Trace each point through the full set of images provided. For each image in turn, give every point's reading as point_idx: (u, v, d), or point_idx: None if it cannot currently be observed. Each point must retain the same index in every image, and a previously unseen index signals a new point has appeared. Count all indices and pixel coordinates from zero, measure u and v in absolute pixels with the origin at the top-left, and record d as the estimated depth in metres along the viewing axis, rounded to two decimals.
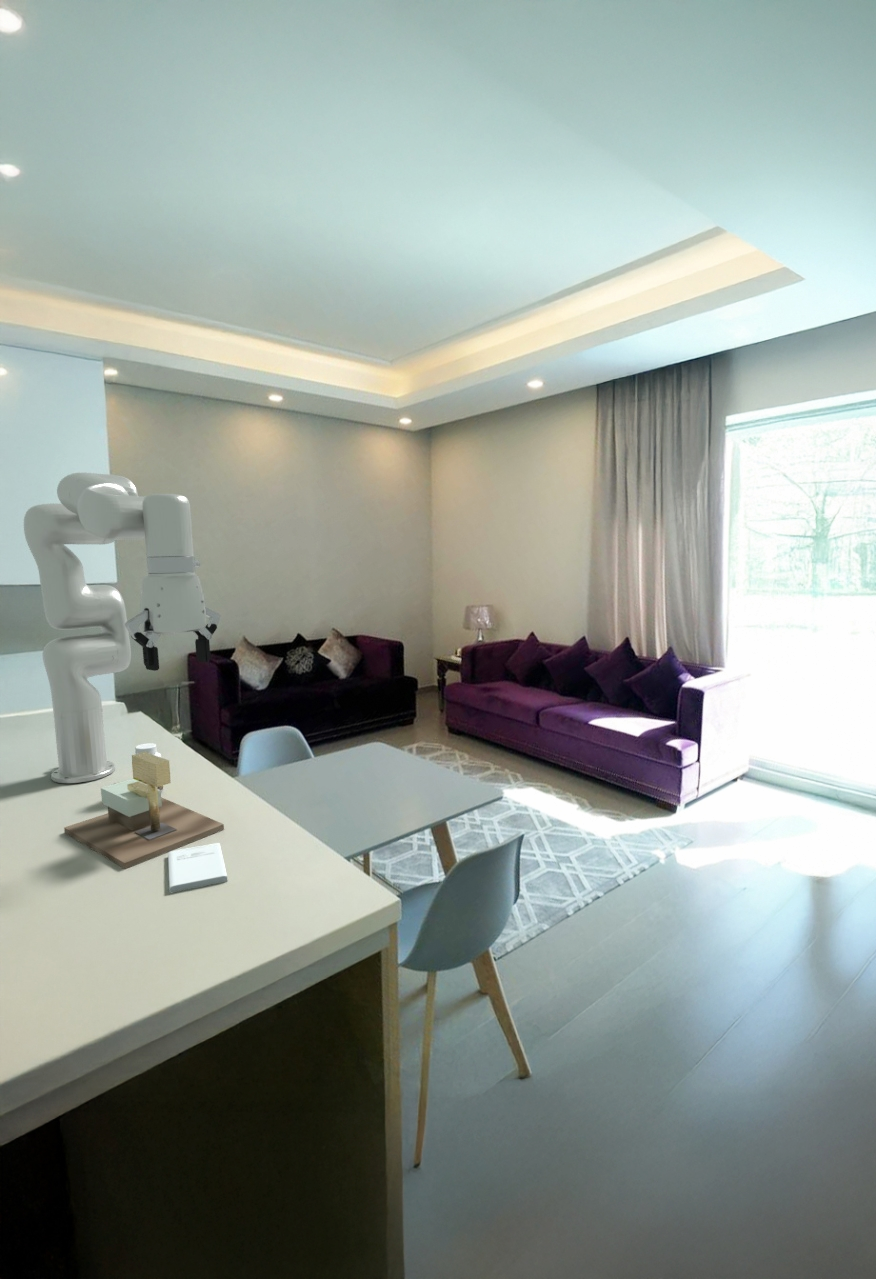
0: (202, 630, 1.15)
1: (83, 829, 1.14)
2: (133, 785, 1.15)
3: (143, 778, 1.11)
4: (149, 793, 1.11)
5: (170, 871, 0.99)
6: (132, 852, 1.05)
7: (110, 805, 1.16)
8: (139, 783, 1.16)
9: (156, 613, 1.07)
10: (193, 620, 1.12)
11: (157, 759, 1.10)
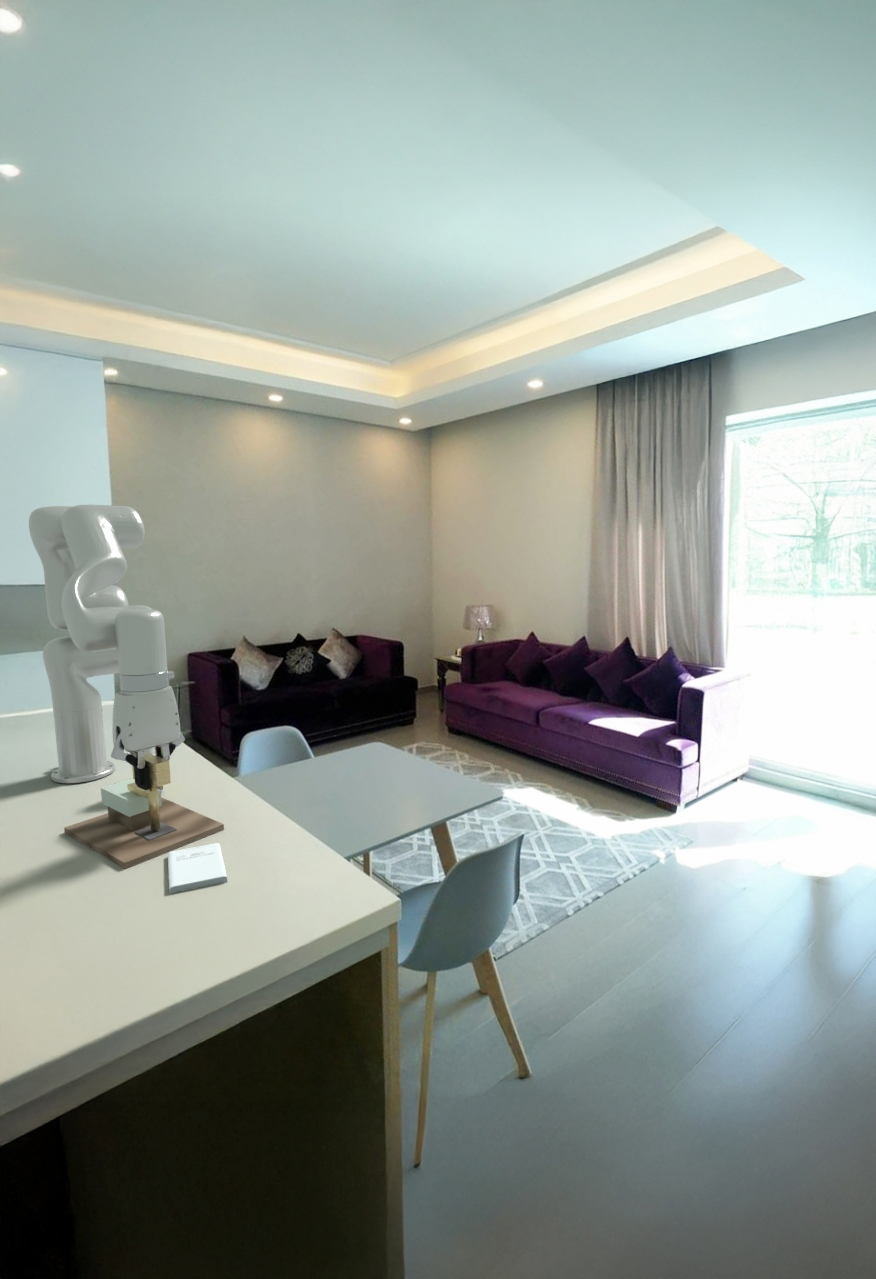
0: (164, 748, 1.12)
1: (83, 829, 1.14)
2: (133, 785, 1.15)
3: None
4: (149, 793, 1.11)
5: (170, 872, 0.99)
6: (132, 852, 1.05)
7: (110, 805, 1.16)
8: None
9: (127, 732, 1.06)
10: (166, 734, 1.11)
11: (157, 759, 1.10)
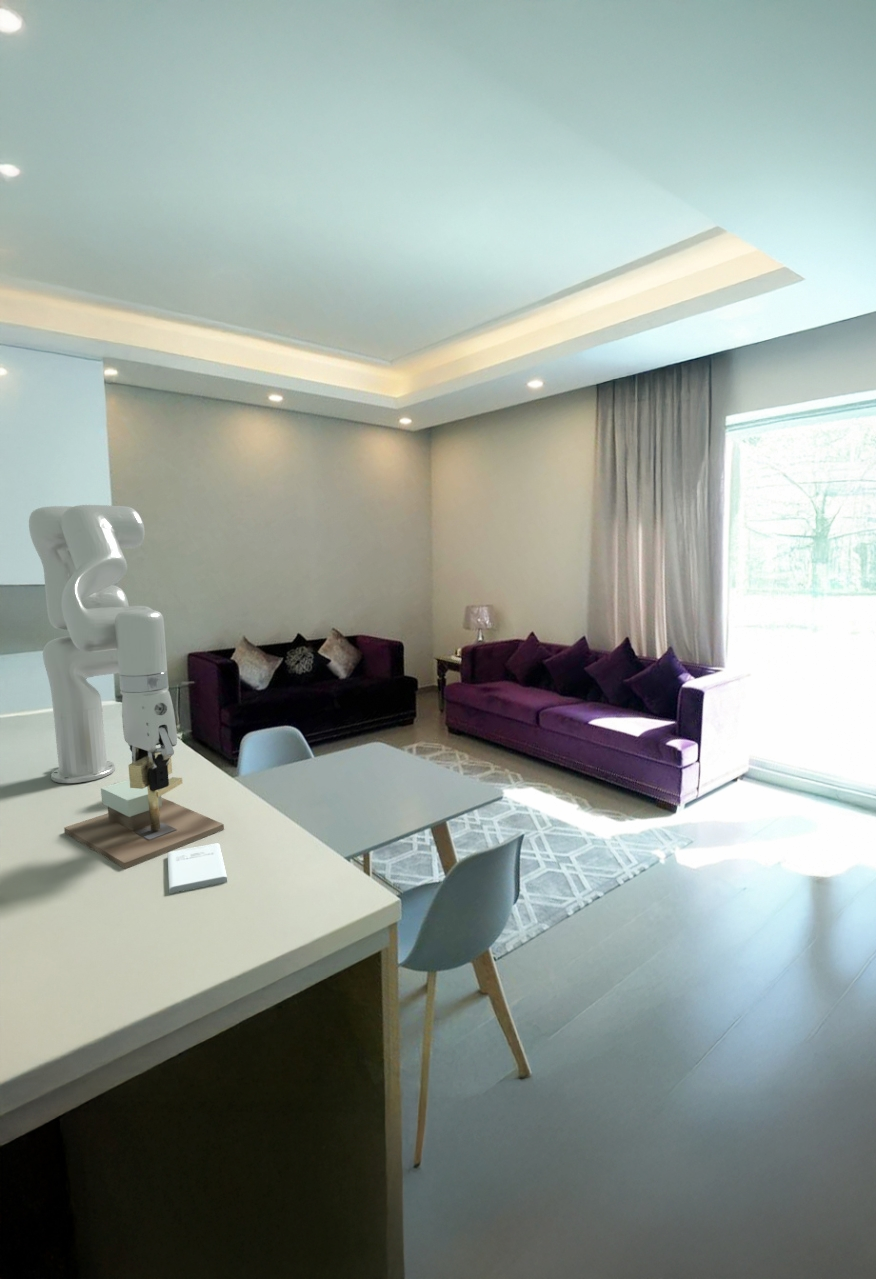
0: (149, 755, 1.08)
1: (83, 829, 1.14)
2: (169, 780, 1.18)
3: None
4: (148, 792, 1.12)
5: (170, 872, 0.99)
6: (132, 852, 1.05)
7: (110, 805, 1.16)
8: (175, 780, 1.17)
9: None
10: (142, 740, 1.08)
11: (144, 761, 1.09)
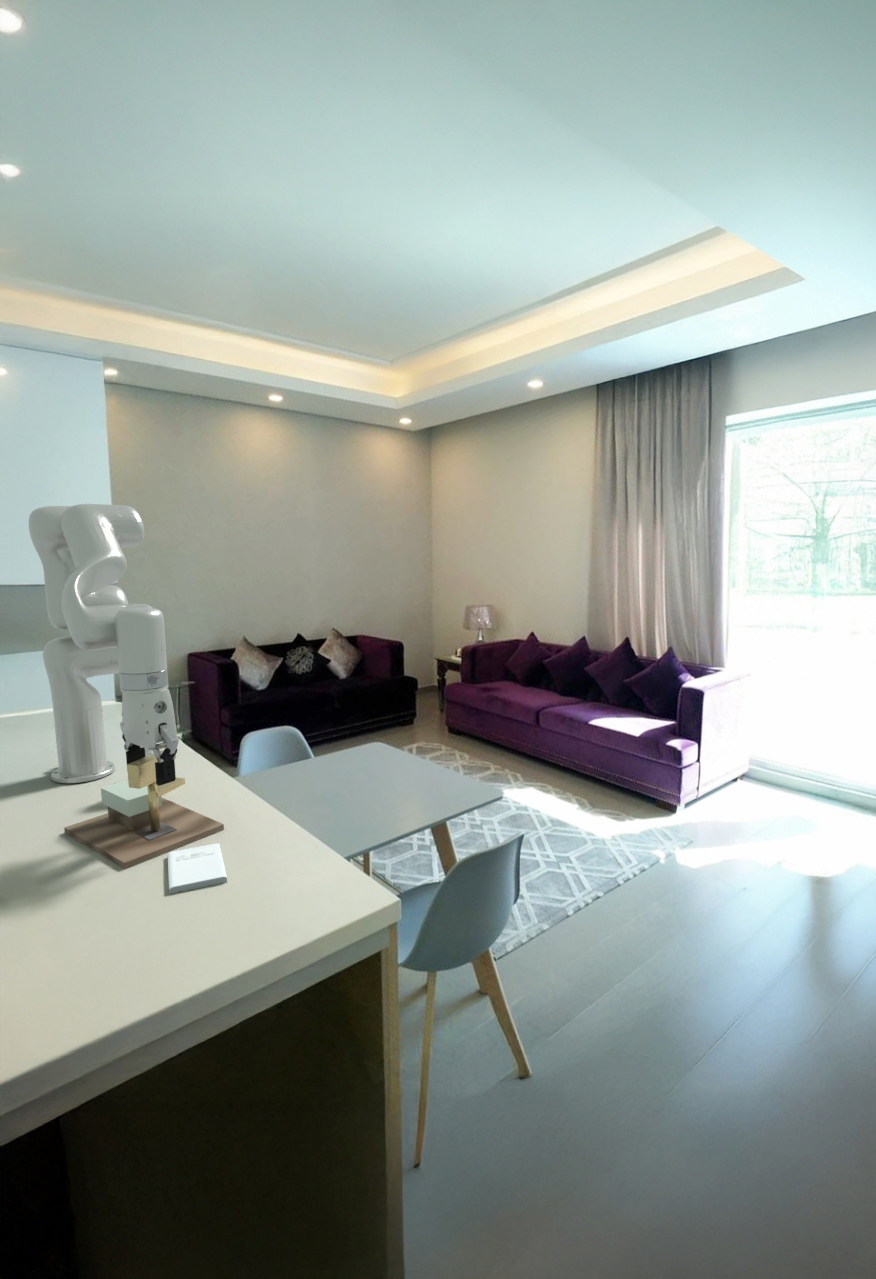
0: (154, 751, 1.07)
1: (83, 829, 1.14)
2: None
3: None
4: (148, 791, 1.12)
5: (169, 872, 0.99)
6: (132, 852, 1.05)
7: (110, 805, 1.16)
8: (178, 780, 1.17)
9: (122, 721, 1.12)
10: (141, 738, 1.08)
11: (143, 761, 1.09)
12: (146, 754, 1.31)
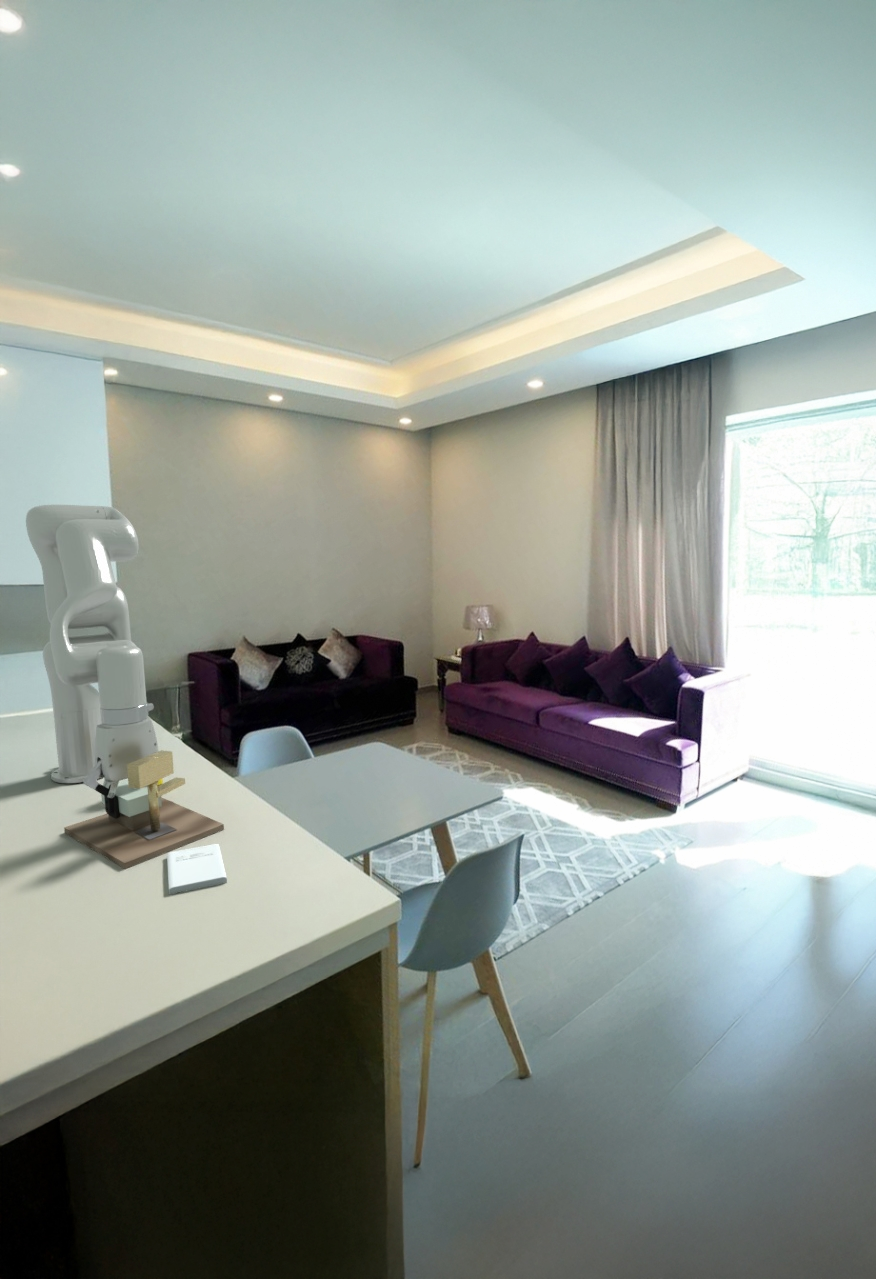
0: None
1: (83, 829, 1.14)
2: (172, 780, 1.17)
3: None
4: (148, 791, 1.12)
5: (169, 872, 0.99)
6: (132, 852, 1.05)
7: None
8: (178, 780, 1.17)
9: (108, 763, 1.11)
10: None
11: (143, 761, 1.09)
12: None
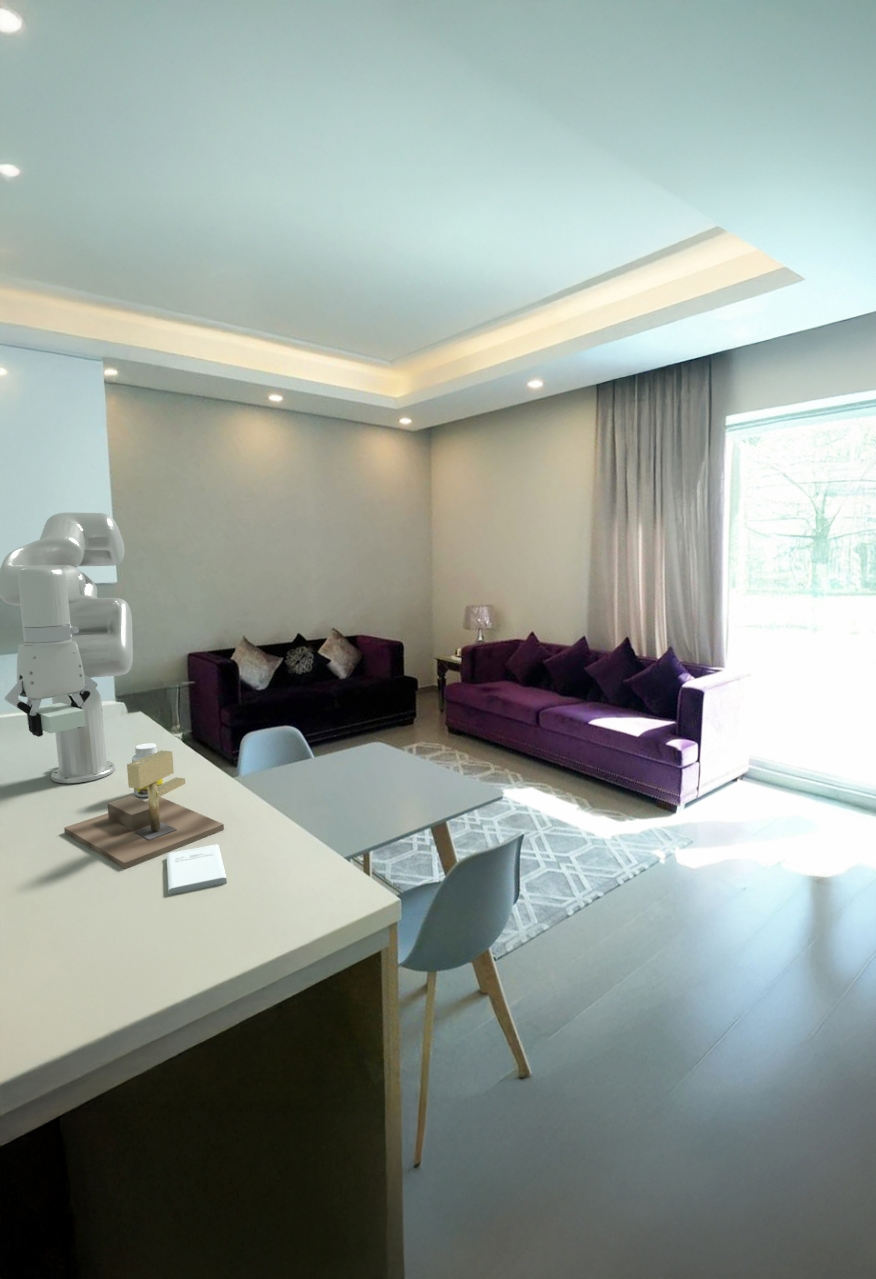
0: (75, 696, 1.20)
1: (83, 829, 1.14)
2: (172, 780, 1.17)
3: None
4: (148, 791, 1.12)
5: (169, 873, 0.99)
6: (132, 852, 1.05)
7: None
8: (178, 780, 1.17)
9: (29, 680, 1.13)
10: (69, 684, 1.19)
11: (143, 761, 1.09)
12: (146, 754, 1.31)
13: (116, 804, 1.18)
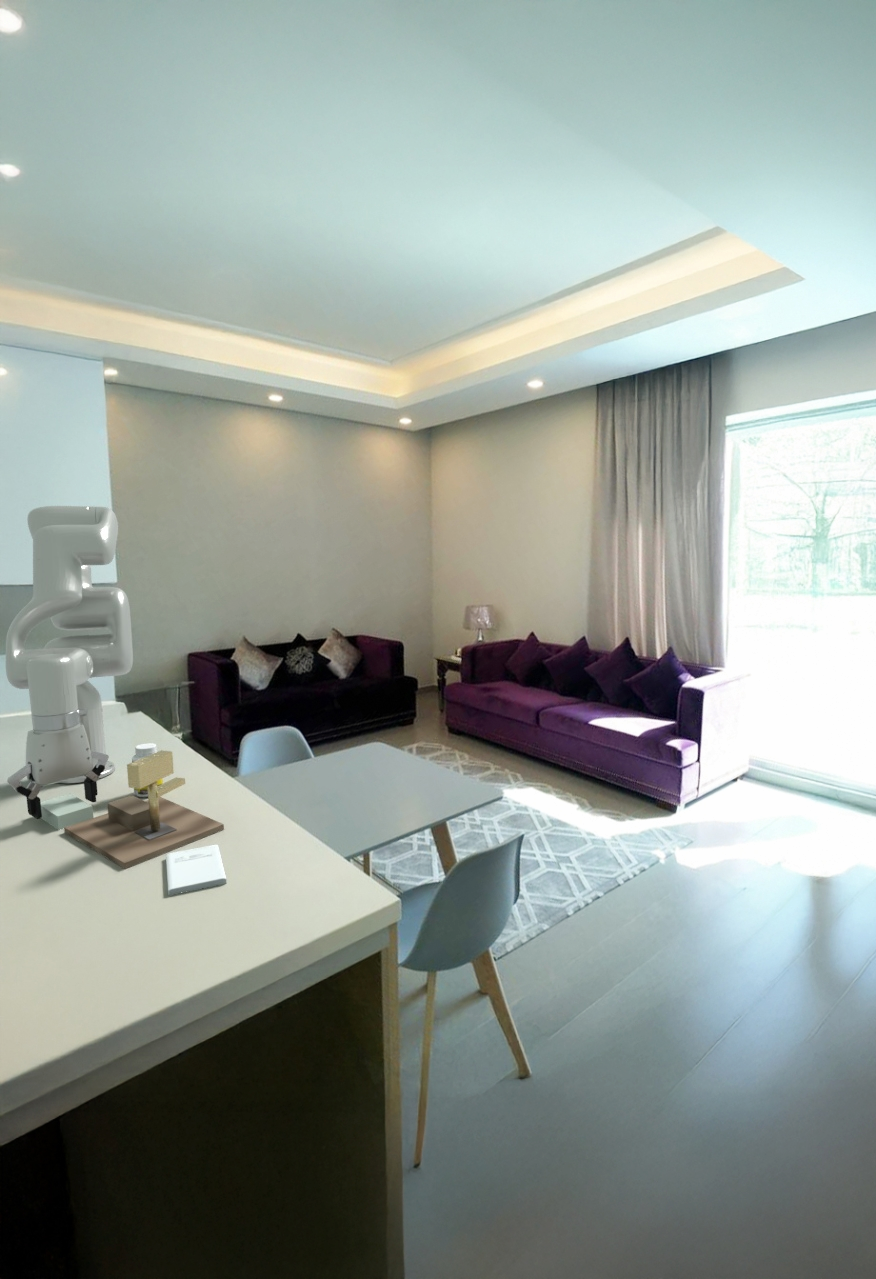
0: (88, 774, 1.23)
1: (83, 829, 1.14)
2: (172, 780, 1.17)
3: None
4: (148, 791, 1.12)
5: (168, 874, 0.98)
6: (132, 852, 1.05)
7: None
8: (178, 780, 1.17)
9: (38, 768, 1.16)
10: (77, 768, 1.21)
11: (143, 761, 1.09)
12: (146, 754, 1.31)
13: (116, 804, 1.18)
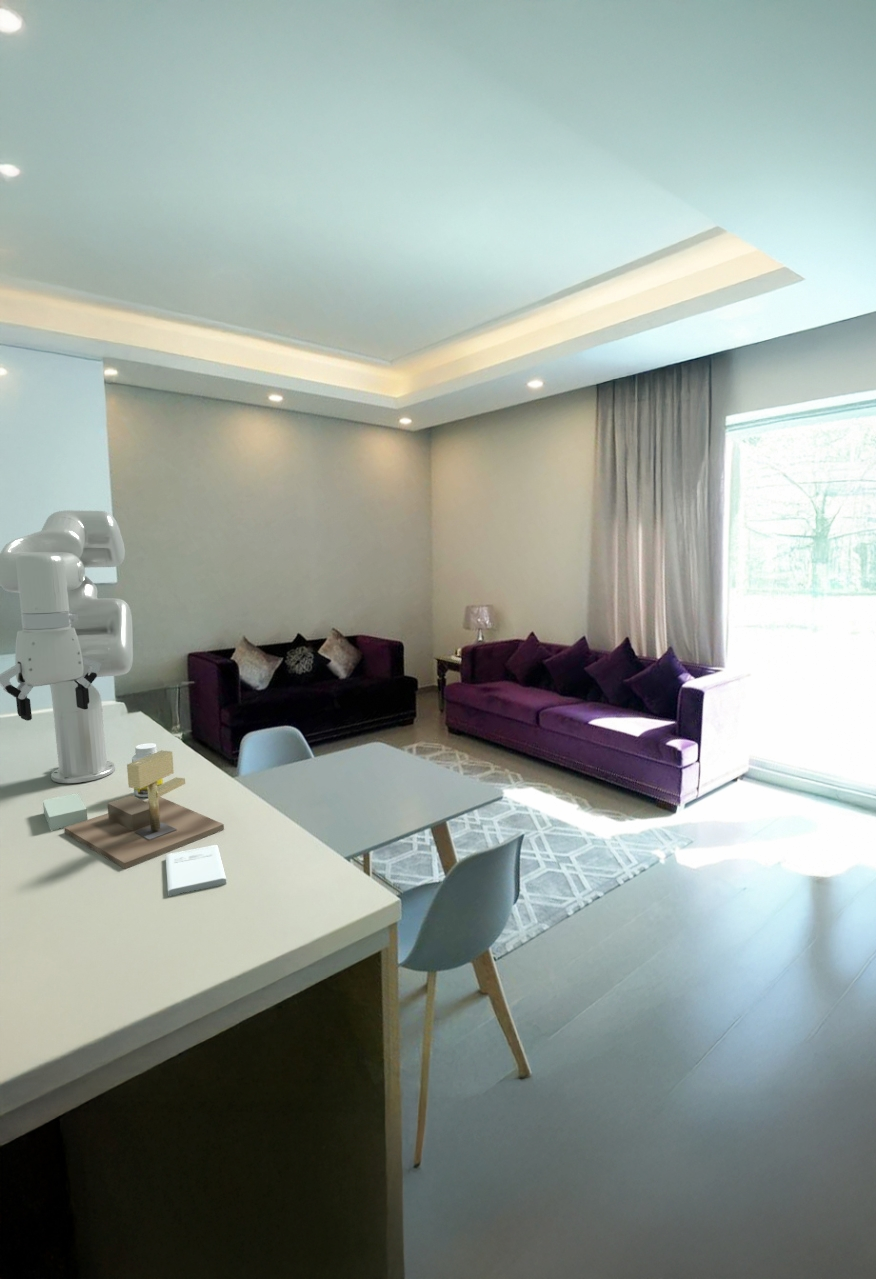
0: (79, 679, 1.21)
1: (83, 829, 1.14)
2: (172, 780, 1.17)
3: None
4: (148, 791, 1.12)
5: (168, 874, 0.98)
6: (132, 852, 1.05)
7: (46, 818, 1.22)
8: (178, 780, 1.17)
9: (27, 667, 1.13)
10: (68, 671, 1.18)
11: (143, 761, 1.09)
12: (146, 754, 1.31)
13: (116, 804, 1.18)
